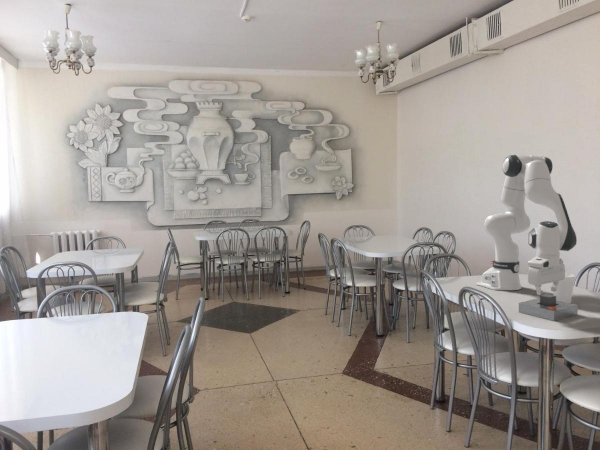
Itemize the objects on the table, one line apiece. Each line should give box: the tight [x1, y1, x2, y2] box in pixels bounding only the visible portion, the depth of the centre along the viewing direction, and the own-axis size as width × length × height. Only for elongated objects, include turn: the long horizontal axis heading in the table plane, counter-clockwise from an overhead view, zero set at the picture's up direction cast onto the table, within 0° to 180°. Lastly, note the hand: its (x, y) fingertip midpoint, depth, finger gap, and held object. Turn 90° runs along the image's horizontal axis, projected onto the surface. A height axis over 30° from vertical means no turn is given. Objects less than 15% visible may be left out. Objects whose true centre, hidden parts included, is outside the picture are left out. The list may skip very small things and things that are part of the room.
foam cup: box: [551, 272, 576, 304], centre depth 219 cm, size 10×9×13 cm
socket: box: [518, 297, 579, 322], centre depth 204 cm, size 16×16×5 cm
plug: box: [539, 293, 556, 306], centre depth 204 cm, size 4×4×8 cm
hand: (546, 292), depth 204 cm, fingers open, 8 cm apart
